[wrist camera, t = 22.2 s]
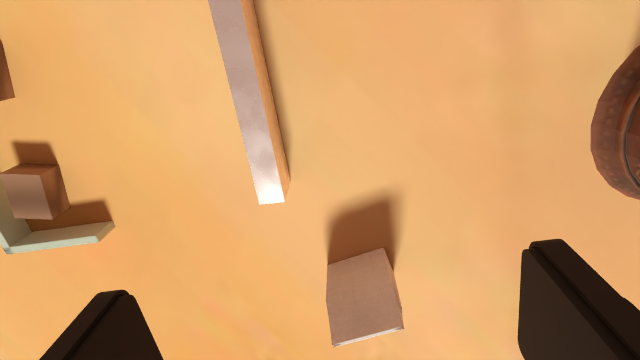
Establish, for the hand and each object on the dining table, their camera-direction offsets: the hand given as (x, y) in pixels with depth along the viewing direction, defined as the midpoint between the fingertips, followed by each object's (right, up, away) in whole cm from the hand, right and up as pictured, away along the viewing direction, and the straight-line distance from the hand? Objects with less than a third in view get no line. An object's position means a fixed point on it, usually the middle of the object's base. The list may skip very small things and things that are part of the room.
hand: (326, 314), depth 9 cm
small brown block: (-30, +3, +31) cm, 43 cm away
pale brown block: (+5, -7, +34) cm, 35 cm away
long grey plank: (-6, +12, +26) cm, 29 cm away
